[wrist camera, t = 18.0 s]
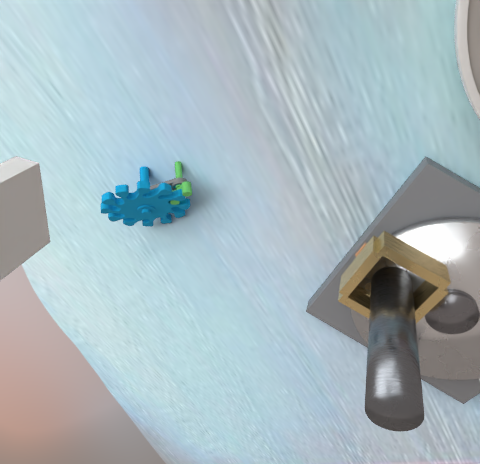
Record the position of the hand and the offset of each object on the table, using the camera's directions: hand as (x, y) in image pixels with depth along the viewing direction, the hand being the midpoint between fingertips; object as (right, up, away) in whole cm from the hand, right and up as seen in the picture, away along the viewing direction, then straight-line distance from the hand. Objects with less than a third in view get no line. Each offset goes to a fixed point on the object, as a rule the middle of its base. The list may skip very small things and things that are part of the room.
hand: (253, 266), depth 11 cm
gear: (-10, +6, +39) cm, 41 cm away
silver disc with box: (+21, -6, +32) cm, 39 cm away
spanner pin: (+15, -4, +32) cm, 35 cm away
